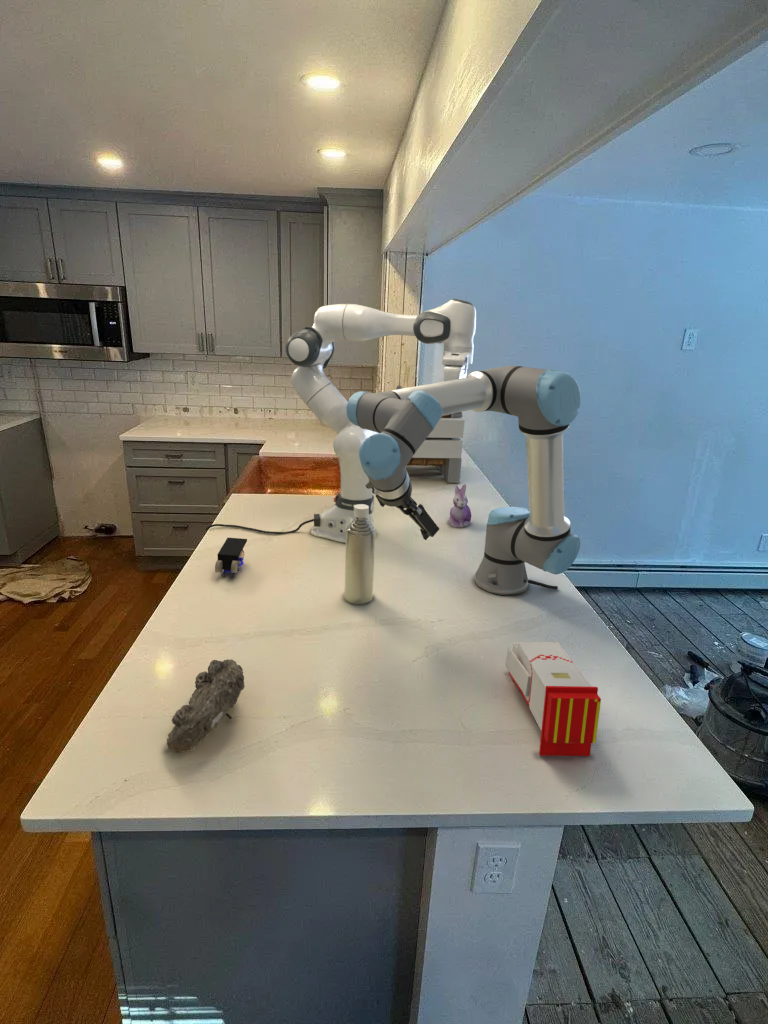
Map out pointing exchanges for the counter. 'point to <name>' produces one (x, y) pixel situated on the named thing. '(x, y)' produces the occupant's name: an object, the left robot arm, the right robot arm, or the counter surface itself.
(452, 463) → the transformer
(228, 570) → the figurine character
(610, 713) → the counter surface
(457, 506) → the figurine
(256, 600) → the counter surface
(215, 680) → the fossil
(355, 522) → the silver ridged cylinder
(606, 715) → the counter surface
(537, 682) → the toy
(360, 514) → the cap
